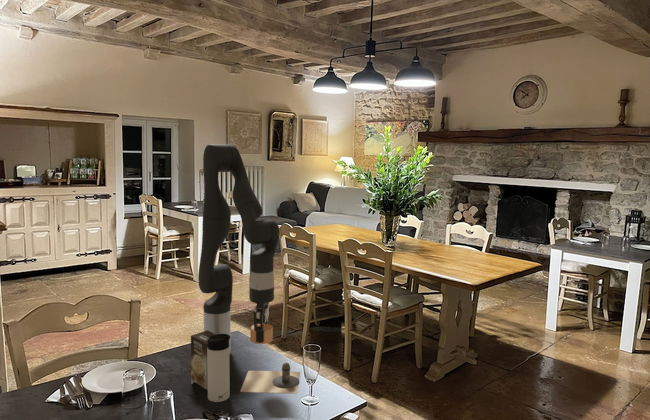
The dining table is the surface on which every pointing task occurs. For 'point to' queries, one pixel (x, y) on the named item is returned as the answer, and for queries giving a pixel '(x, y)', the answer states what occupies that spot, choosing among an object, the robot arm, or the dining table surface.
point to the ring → (267, 334)
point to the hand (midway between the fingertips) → (261, 337)
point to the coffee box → (199, 358)
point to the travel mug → (218, 367)
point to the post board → (272, 381)
